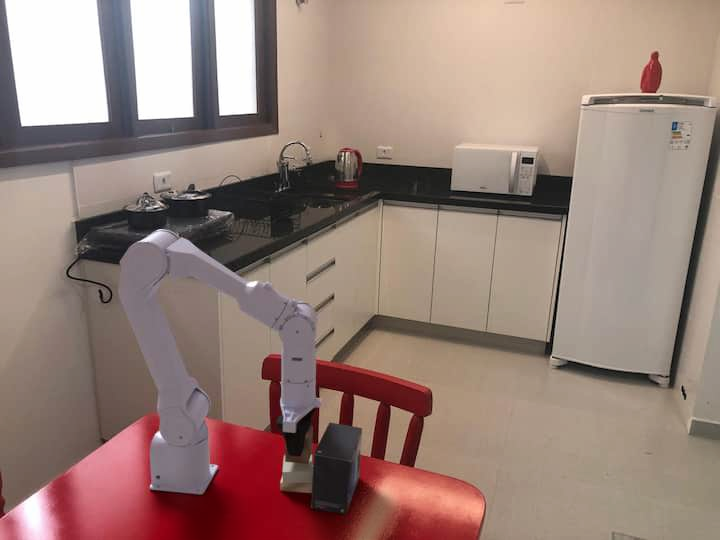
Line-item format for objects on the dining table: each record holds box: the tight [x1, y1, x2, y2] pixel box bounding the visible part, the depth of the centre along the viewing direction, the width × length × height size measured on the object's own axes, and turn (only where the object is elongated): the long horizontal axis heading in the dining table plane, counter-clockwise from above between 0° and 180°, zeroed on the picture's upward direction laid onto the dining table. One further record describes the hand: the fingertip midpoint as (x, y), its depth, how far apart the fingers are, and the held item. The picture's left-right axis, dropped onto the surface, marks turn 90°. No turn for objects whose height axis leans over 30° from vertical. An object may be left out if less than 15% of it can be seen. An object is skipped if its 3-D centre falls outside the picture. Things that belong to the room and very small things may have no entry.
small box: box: [310, 422, 363, 515], centre depth 97 cm, size 11×6×10 cm, turn 168°
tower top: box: [282, 454, 313, 483], centre depth 100 cm, size 5×5×2 cm
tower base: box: [279, 464, 313, 494], centre depth 101 cm, size 6×6×2 cm
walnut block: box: [284, 425, 314, 464], centre depth 99 cm, size 4×4×5 cm
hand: (297, 447), depth 99 cm, fingers closed on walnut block, 4 cm apart
